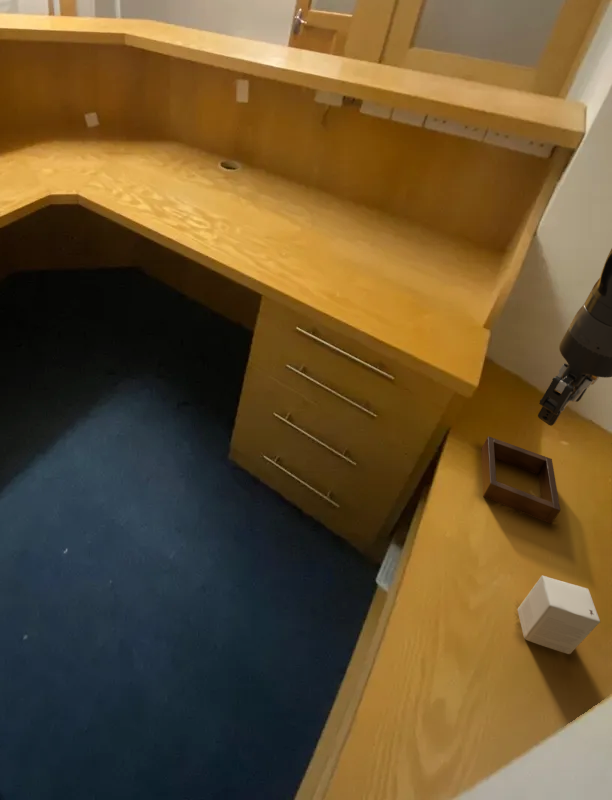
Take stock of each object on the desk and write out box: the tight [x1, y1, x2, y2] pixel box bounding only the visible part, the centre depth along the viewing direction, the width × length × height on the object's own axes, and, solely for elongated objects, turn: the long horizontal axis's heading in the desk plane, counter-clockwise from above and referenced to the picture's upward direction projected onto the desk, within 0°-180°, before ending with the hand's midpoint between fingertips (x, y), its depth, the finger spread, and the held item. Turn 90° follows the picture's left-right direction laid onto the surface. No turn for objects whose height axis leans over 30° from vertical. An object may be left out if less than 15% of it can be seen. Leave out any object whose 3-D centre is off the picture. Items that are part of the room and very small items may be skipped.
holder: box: [480, 435, 561, 524], centre depth 95 cm, size 11×11×6 cm
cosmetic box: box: [517, 575, 601, 655], centre depth 74 cm, size 6×4×12 cm
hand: (558, 408), depth 83 cm, fingers open, 8 cm apart
